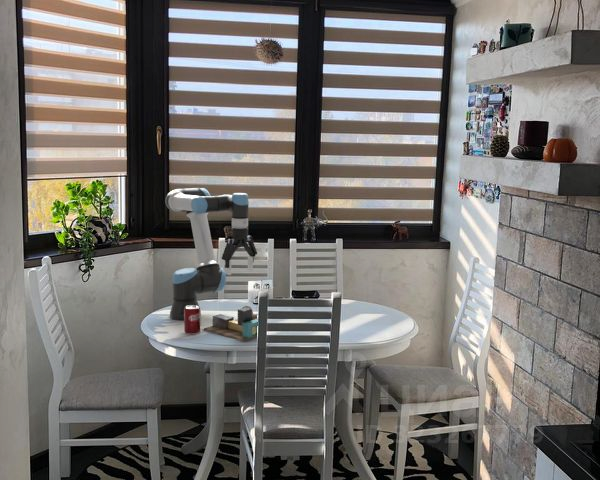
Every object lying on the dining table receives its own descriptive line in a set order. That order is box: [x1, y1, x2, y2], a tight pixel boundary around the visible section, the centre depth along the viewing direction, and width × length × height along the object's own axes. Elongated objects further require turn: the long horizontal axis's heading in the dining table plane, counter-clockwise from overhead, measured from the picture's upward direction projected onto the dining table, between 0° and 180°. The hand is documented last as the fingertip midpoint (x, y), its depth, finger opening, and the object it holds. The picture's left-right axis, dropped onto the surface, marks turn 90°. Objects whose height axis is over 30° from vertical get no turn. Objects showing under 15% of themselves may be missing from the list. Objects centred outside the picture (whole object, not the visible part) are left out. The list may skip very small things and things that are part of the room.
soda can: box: [183, 305, 201, 335], centre depth 341 cm, size 7×7×12 cm
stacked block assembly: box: [211, 313, 258, 339], centre depth 341 cm, size 26×10×6 cm, turn 49°
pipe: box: [242, 305, 259, 320], centre depth 363 cm, size 6×17×10 cm
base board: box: [203, 325, 258, 343], centre depth 342 cm, size 27×14×1 cm, turn 49°
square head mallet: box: [226, 307, 257, 334], centre depth 339 cm, size 18×5×10 cm, turn 49°
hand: (239, 272), depth 346 cm, fingers open, 13 cm apart
